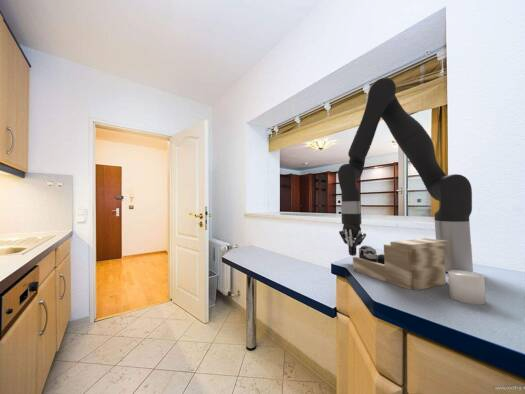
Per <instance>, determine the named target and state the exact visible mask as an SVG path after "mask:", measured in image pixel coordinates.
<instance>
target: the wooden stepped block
mask: <svg viewBox="0 0 525 394" xmlns="http://www.w3.org/2000/svg"><path fill="white" fill-rule="evenodd" d="M444 245H448V241H445V240H436V238H435V239H434V238H427V237H424V238H418V239H417V238H415V239H405V240H396V241H390V244H388V243H387V244H386V243H385V244H383V253H380V254H379V255H382V256H384V262H385V265H384V264H380V263H377V262H373V261H369V260H365V259H361V258H359V256H358V257H356V256H352V268H353V269H354V270H356V271H355V272H357V271H358V272H357V273H360V272H361V273H360V274H363V275H366V276H370V277H372V278H376V279H377V280H381V281H384V282H388V283H390V284H393V285H396V286H397V287H398V286H399V287H401V288H405V289H406V290H407V289H408V290H413V289H414V290H417V291H420V290H426V289H430V288H434V287H438V286H443V285H446V284H447V281H446V280H447V279H446V272H445V260H444ZM354 270H353V271H354Z"/></svg>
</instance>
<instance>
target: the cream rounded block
mask: <svg viewBox="0 0 525 394" xmlns="http://www.w3.org/2000/svg"><path fill="white" fill-rule="evenodd" d="M447 273H448V274H447V275H448V289H449V293H448V294H449V297H450V298H451V299H453V300H455V301H457V302H461V303H464V304H468V303H469V304H470V305H475V304H476V306H477V305H479V306H481V305H486V304H487V303H486V302H487V301H486V298H487V297H486V284H485V276H484V275H483V274H481V273H477V272H474V271H473V272H469V271H461V270H450V271H448V272H447Z"/></svg>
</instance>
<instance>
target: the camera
mask: <svg viewBox="0 0 525 394" xmlns="http://www.w3.org/2000/svg"><path fill="white" fill-rule="evenodd" d="M358 258H361V259H365V260H369V261H373V262H377V263H380V264H384V265H385V262H384V256H382V255H380V254H377V251H376V249H375V248H374V247H372V246H370V245H362V246H360V247H359V248H358Z"/></svg>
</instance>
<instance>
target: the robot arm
mask: <svg viewBox="0 0 525 394" xmlns="http://www.w3.org/2000/svg"><path fill="white" fill-rule="evenodd" d="M396 93H397V85H396V83H395V82H394V80H393V79H391V78H389V77H381V78H378V79H376V80H375V81H374V82H373V83H372V84H371V86H370V87H369V89H368V93H367V100H366V105H365V109H364V112H363V114H362V118H361V120H360V123H359V126H358V127H357V131H356V132H355V135H354V138H353V140H352V142H351V145H350V147H349V149H348V153H347V155H348V157H349V160H348V163H343V164H342V165H340V167H339V168H338V170H337V178H338V179H337V180H338V184H339V188H340V192H341V193H340V195H341V196H340V197H341V207H340V212H341V215H340V216H341V217H340V218H341V224H342V229H341V230H339V231H338V233H339V235H340V237H341V239H342V241H343V243H344V244H345V245H347V246H348V255H349V256H352V257H356V256H357V246H360V245H361V244H362V243H363V241H364V240H365V238H366V236H367V234H366V232H365V233H364V232H363V231H362V227H361V225H362V206H361V205H362V204H361V199H360V198H361V195H360V189H359V187H358V186H357V184H356V181H358V180H360V178H361V177H362V175H363V171H364V168H365V164H366V163H365V162H366V157H367V155H368V153H369V151H370V149H371V146H372V143H373V140H374V138H375V135H376V132H377V129H378V125H379V123H380V121H381V119H382V120H383V121H384V124H385V125H386V126H387V128H388V130H389V132H390V134H391V135H392V137H393V138H394V140H395V142H396V144H397V145H398V146H399V147H398V148H400V150H401V151H402V153H404V154H405V156H406V157H407V159H408V160H409V162H410V163H411V165H412V167H413V168H414V169H415V171H416V173H418V175H419V177H420V179H421V181H422V182H423V184H424V186H425V189H426V190H427V192H428V194H429V195H430V196H431V198H433V199H434V200H435V201H439V204H440V205H439V208H438V210H437V211H436V212H435V213H434V215H433V216H434V231H435V233H434V234H435V239H436V240H445V241H448V245H444V260H445V273H448V271H450V270H461V271H469V272H474V264H473V252H472V251H473V250H472V241H471V240H472V239H471V225H470V216H471V214H472V211H473V190H472V189H473V188H472V184H471V182H470V181H469V179H468V178H467V177H466V176H464V175H462V174H454V173H453V174H449V175H447V174H446V173H445V172H444V170H443V169H442V168H441V166H440V165H439V163H438V161H437V158H436V151H435V147H434V142H433V139H432V138H431V136H430V134H428V131H426V129H425V128H424V127H423V125H422V123H420V122H419V121H418V120H417V119H415V118H414V117H413V116H412V115H410V114H409V113H408V112H407V111H406V110H405V109H404V107H402V104H401V103H400V101H399V100H398V98H397V95H396Z"/></svg>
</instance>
